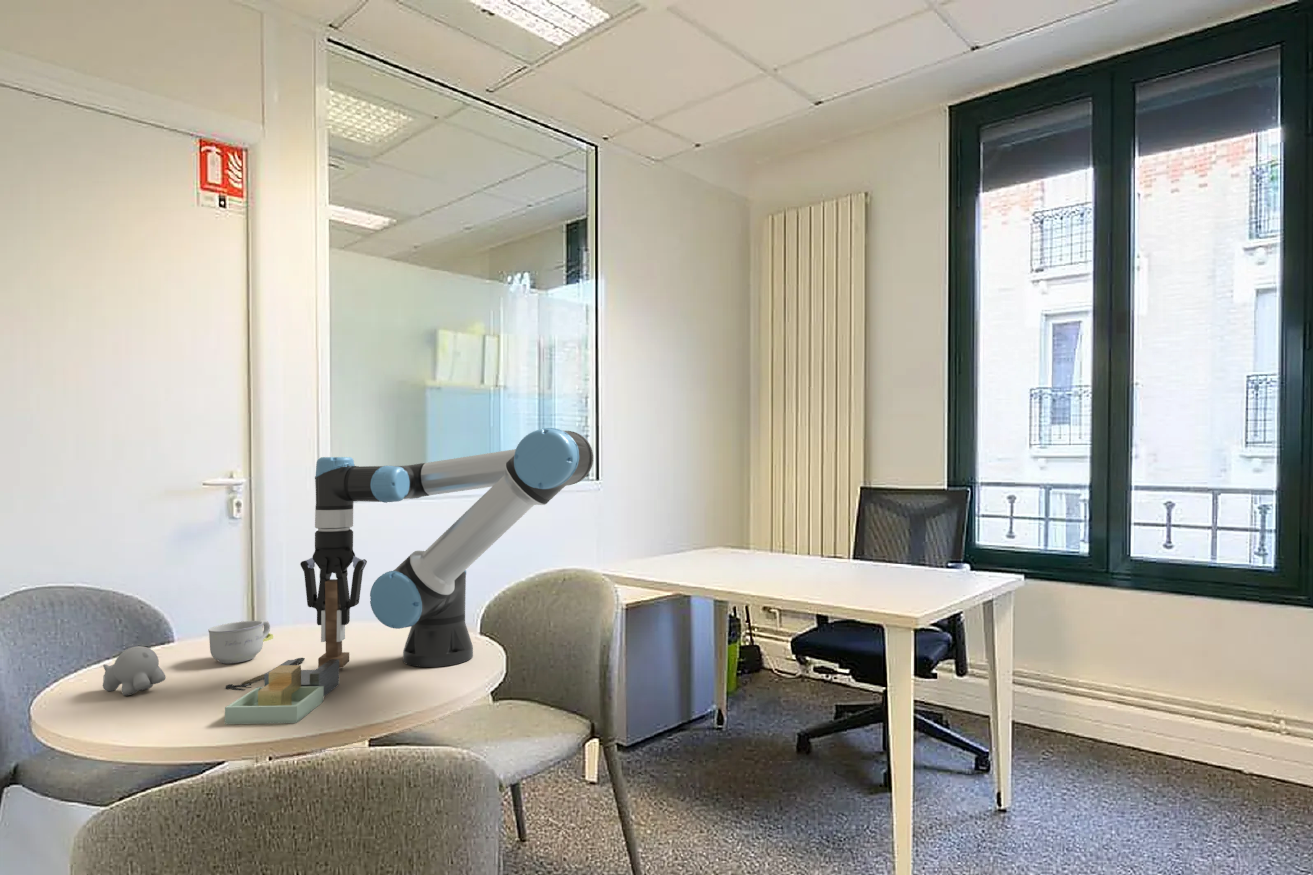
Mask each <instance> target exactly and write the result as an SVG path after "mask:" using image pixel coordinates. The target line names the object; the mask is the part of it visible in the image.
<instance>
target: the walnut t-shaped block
mask: <svg viewBox="0 0 1313 875" xmlns="http://www.w3.org/2000/svg"><path fill="white" fill-rule="evenodd" d="M339 608H341V606H340V598H339V589H338V581H337V578H335V579H334V578H330V579H329V580H328V581H326V582H325V625H326V641H325V653H323V654H322V655H320V656H319V657H318V659H317V662H318V665H317V666H318V667H317V668H319V667H320V666H322V665H323V664H325V663H326V662H327V661H329V660H330V659H339V669H341V668H343V669H344V667H346V665H347V664H348V663H350V652H349V651H346V652H345V651H343V640H342V641H341V642H337V610H339Z"/></svg>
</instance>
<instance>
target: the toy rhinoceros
mask: <svg viewBox="0 0 1313 875" xmlns="http://www.w3.org/2000/svg"><path fill="white" fill-rule="evenodd" d="M159 662H160V661H159V657H158V654H157V653H156V652H155V651H154V650H153V649H151V648H149V647H146V646H133V647H129V648H127V649H126V650H124V651H123V652H121V653H120V654H119V655H118V656H117V658H116V659H115V661H114V664H111V665H108V664H106V663H105V664H103V665H102V667H103V669H104V674H103V676H102V677H103V679H102V681H103V682H102V688H103V690H105V691H107V692H114V691H116V690H117V689H119V686H121V694H122V696H124V697H126V696H127V695H128V696H131V695H134V694H136V693H137V692H138V691H142V692H143V691H145V690H148V689H150V688H152V687H153V686H154V685H157V684H159V683H160V684H161V683H162V682H164V681H165V680H166V679H167V678H166V677H167V676H166V674H165V672H164V670H163V669H162V668H160V666H159V665H160V664H159Z"/></svg>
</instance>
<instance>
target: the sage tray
mask: <svg viewBox="0 0 1313 875" xmlns="http://www.w3.org/2000/svg"><path fill="white" fill-rule="evenodd" d="M263 687H264V686H257V687H256V688H254V689H252V690H251V691H249V692H248V693H246V694H244V695H243V696H241V697H239V698H238V699H236V700H234V701H233V702H231V703H230V704H228V705H227V706H225V707H224V725H246V724H247V725H249V724H250V725H251V724H252V725H253V724H254V725H257V724H297V723H299V722H300V721H301V720H303V719H304V718H305V717H306V716H307V715H308V714H310V713H311V712H312V711H314V710H315V709H316V708H317V707H319V706H320V705H321V704H322V703H323V702H324V697H323V693H324V686H301V687H300V688H299V689H298V690H296V691H295V692H294V693H293V694H292V705H284V706H258V691H259V690H260V689H262V688H263Z"/></svg>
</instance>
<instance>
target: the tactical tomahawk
mask: <svg viewBox="0 0 1313 875" xmlns="http://www.w3.org/2000/svg"><path fill="white" fill-rule="evenodd" d="M294 660H297V665H300V663H303V662H304V661H305V657H297V658H295V659H294ZM266 673H267V672H264V673H262V674H260V675H257V676H254V677H252V678H250V679H247V680H245V681H243V682H241V684H232V683H231V684H227V685H225V690H234V691H243V692H244V691H246V690H247V689H244V688H249V689H250V688H251V689H252V688H253V687H252V684H255V683H257V682H259V681H261V680H264V674H266Z"/></svg>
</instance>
